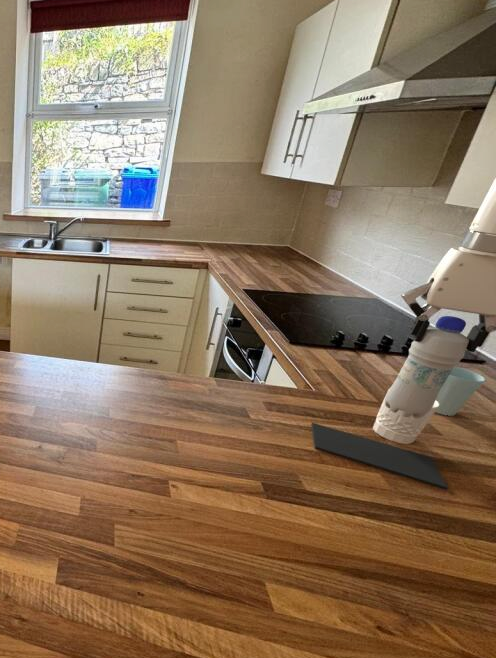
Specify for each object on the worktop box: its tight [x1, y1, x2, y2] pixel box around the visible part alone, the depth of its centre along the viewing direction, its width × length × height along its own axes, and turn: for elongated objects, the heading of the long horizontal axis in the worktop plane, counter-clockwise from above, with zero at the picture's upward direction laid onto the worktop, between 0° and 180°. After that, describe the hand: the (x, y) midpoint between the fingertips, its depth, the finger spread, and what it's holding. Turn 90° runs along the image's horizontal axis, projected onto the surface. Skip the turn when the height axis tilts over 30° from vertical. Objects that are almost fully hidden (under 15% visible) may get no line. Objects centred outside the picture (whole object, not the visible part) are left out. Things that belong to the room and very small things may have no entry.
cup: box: [435, 365, 486, 417], centre depth 97 cm, size 8×8×10 cm
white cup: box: [372, 387, 440, 445], centre depth 87 cm, size 8×8×10 cm
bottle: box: [384, 315, 469, 418], centre depth 74 cm, size 7×7×20 cm
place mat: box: [310, 422, 449, 491], centre depth 84 cm, size 20×10×1 cm, turn 57°
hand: (441, 343), depth 72 cm, fingers closed on bottle, 6 cm apart
